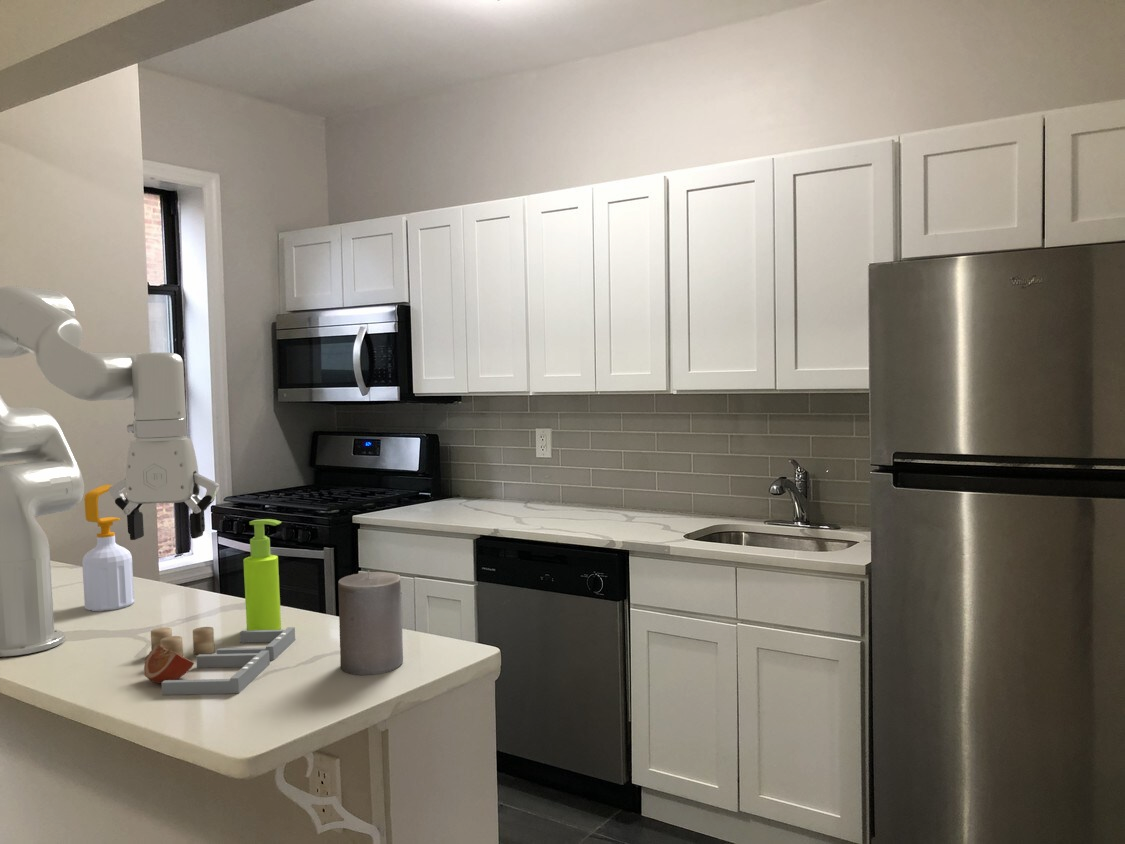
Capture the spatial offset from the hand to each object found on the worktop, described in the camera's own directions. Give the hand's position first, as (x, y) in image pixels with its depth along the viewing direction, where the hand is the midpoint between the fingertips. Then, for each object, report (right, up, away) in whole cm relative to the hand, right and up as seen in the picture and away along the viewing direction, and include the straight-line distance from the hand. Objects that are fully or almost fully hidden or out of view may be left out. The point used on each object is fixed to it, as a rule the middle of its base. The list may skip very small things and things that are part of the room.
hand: (167, 537), depth 145 cm
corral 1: (+11, -21, -7) cm, 24 cm away
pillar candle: (+33, -20, -3) cm, 39 cm away
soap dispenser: (+10, -19, +19) cm, 29 cm away
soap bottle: (-29, -19, +40) cm, 53 cm away
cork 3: (+4, -20, +6) cm, 21 cm away
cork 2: (0, -20, +1) cm, 20 cm away
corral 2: (+12, -20, +7) cm, 24 cm away
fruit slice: (+3, -21, -7) cm, 22 cm away
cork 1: (-3, -20, +6) cm, 21 cm away
